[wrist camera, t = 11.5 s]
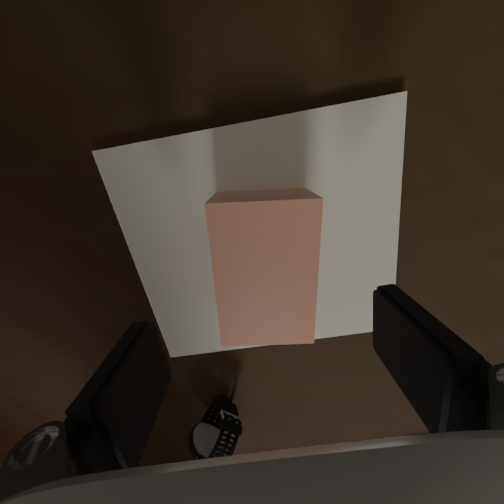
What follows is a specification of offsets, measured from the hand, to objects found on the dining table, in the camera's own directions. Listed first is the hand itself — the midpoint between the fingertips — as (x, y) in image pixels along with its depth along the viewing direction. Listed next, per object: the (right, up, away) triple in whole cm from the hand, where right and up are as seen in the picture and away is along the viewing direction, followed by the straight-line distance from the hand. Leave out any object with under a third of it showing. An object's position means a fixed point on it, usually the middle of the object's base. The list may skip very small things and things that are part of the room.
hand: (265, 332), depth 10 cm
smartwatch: (-3, -11, +13) cm, 17 cm away
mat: (0, +4, +7) cm, 8 cm away
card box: (0, +3, +6) cm, 7 cm away
